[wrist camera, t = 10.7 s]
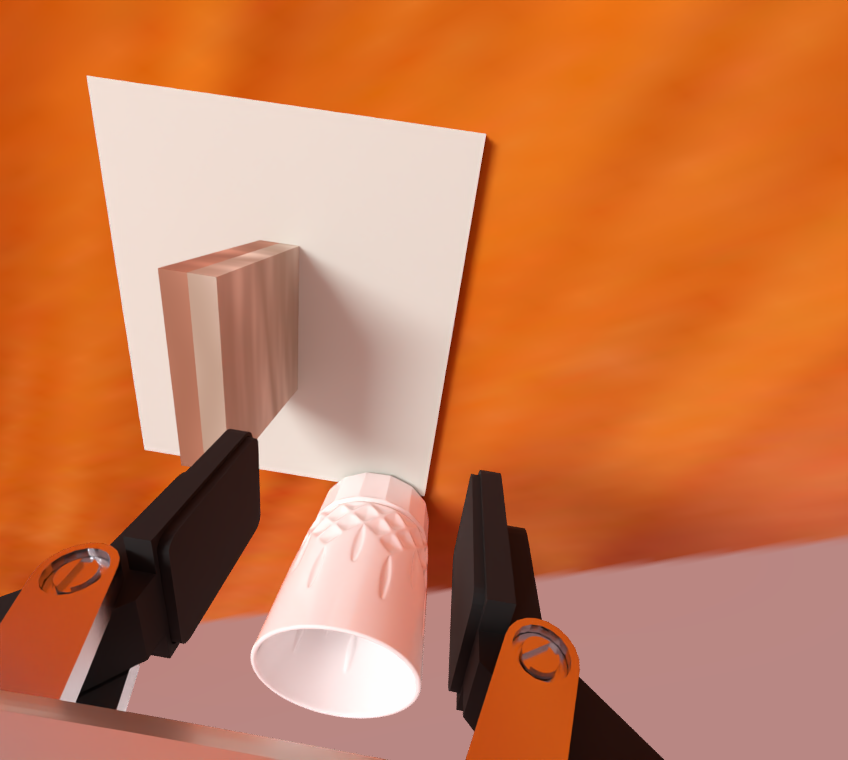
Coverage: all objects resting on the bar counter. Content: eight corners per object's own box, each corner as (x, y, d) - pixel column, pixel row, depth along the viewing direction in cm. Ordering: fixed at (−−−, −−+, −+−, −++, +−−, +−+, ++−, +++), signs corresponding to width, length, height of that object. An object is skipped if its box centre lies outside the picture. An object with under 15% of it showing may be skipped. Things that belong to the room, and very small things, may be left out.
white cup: (411, 451, 26) (378, 616, 17) (454, 540, 29) (445, 714, 21) (296, 478, 28) (216, 637, 19) (349, 558, 31) (301, 723, 23)
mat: (485, 135, 20) (486, 133, 19) (425, 490, 28) (424, 496, 28) (96, 78, 20) (86, 75, 20) (150, 444, 28) (144, 449, 28)
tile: (299, 246, 22) (216, 276, 15) (297, 389, 25) (229, 473, 18) (260, 240, 22) (157, 268, 15) (263, 384, 25) (181, 465, 18)
